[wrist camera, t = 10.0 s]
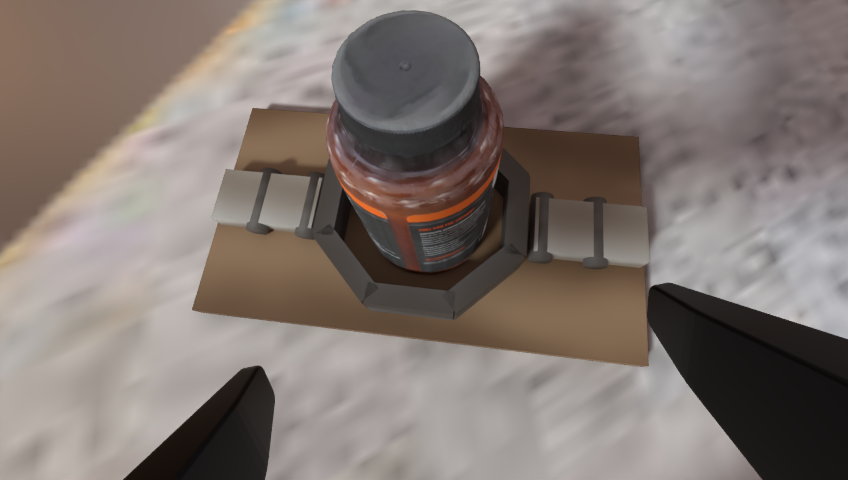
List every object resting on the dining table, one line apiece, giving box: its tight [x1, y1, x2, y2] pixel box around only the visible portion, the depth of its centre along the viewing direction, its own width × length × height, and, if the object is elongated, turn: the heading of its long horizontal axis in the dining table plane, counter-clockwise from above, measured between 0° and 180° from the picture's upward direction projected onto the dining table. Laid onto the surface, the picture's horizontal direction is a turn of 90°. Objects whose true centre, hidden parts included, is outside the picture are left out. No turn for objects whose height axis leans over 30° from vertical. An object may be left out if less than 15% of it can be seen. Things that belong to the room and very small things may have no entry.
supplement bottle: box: [326, 11, 504, 275], centre depth 16 cm, size 6×6×11 cm
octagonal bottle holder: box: [192, 108, 650, 367], centre depth 21 cm, size 12×22×3 cm, turn 83°
